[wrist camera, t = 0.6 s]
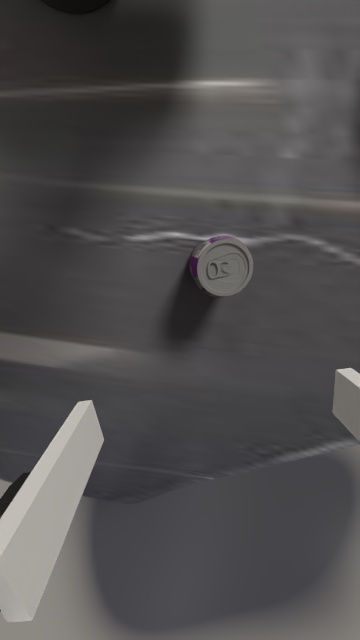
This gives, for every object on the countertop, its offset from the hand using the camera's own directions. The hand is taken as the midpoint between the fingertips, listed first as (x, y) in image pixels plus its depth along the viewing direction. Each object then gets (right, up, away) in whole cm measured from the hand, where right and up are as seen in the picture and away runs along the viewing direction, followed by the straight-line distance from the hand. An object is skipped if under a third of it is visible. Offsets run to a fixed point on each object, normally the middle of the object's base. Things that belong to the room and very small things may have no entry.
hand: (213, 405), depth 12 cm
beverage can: (+3, +14, +24) cm, 28 cm away
